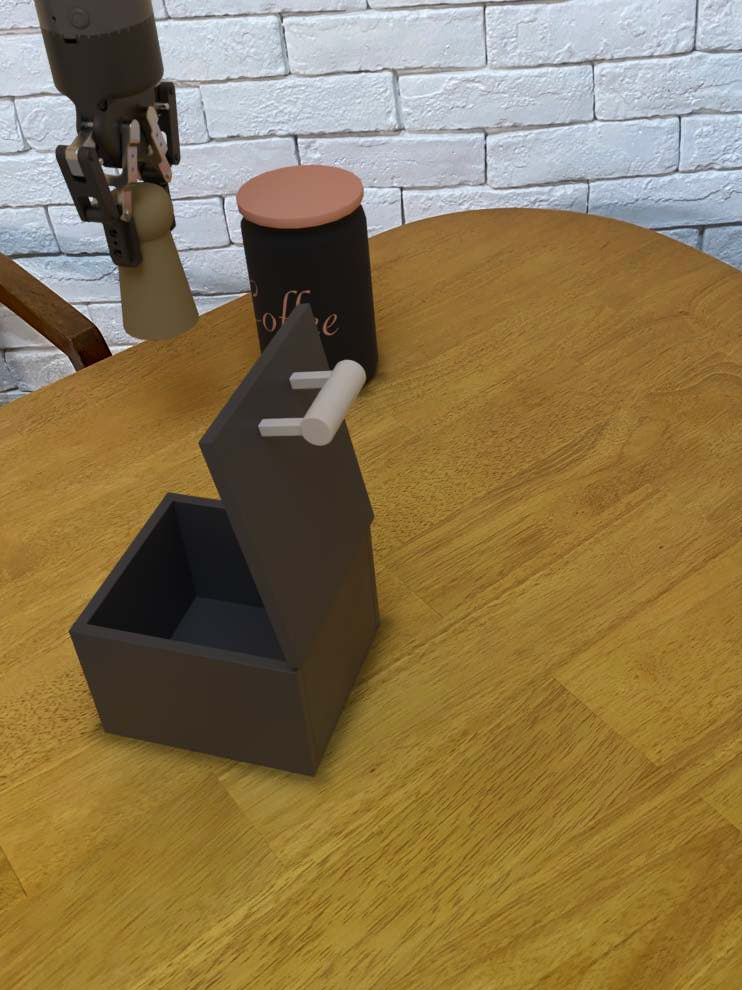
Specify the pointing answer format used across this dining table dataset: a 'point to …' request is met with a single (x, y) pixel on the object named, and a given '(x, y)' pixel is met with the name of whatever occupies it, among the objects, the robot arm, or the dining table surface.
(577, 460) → the dining table surface
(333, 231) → the coffee jar
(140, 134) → the robot arm
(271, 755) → the dark brown wooden box
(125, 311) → the tan peg doll
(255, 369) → the lid
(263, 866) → the dining table surface
